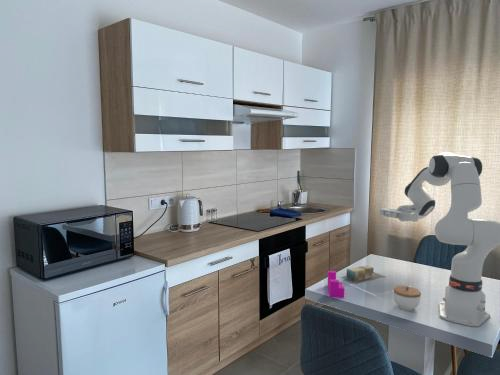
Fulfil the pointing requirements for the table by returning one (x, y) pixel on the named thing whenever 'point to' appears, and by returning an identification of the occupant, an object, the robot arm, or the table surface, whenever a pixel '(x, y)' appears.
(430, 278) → the table surface
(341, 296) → the toy block
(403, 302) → the lidded jar
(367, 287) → the table surface
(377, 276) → the mat
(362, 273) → the tall block
